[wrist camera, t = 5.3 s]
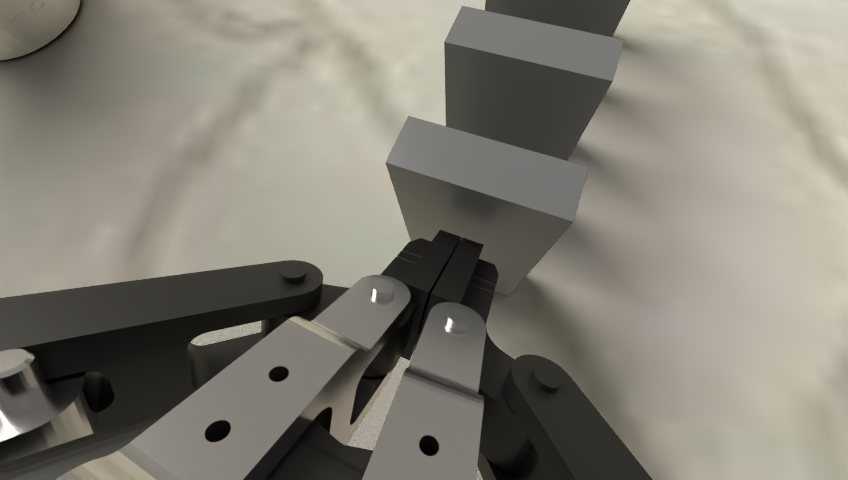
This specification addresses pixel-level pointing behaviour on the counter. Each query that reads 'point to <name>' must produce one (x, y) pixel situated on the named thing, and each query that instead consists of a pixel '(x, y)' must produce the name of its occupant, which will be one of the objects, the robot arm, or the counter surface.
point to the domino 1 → (566, 13)
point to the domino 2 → (525, 80)
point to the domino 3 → (484, 194)
